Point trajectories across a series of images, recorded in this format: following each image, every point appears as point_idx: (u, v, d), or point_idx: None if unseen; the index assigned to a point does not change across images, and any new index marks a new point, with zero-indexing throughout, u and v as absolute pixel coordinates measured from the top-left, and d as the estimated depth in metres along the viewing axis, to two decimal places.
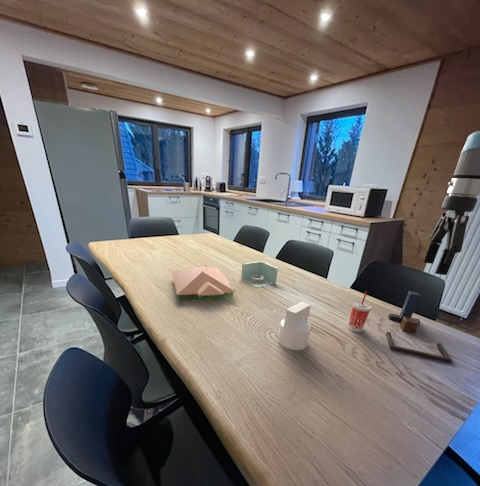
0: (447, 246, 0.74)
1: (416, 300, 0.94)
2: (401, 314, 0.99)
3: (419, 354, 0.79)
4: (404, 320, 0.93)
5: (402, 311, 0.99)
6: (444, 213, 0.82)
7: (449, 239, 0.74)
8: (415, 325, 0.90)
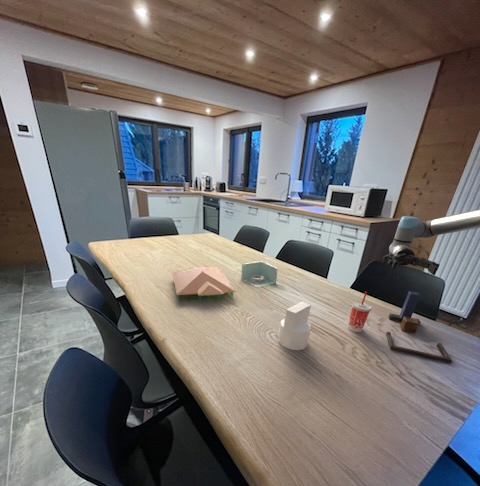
0: None
1: (416, 300, 0.94)
2: (401, 314, 0.99)
3: (419, 354, 0.79)
4: (404, 320, 0.93)
5: (402, 311, 0.99)
6: None
7: None
8: (415, 325, 0.90)
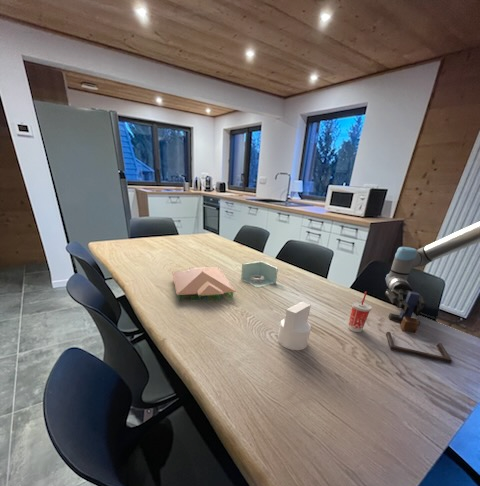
0: None
1: (416, 300, 0.94)
2: (401, 314, 0.99)
3: (419, 354, 0.79)
4: (404, 320, 0.93)
5: (402, 311, 0.99)
6: None
7: None
8: (415, 325, 0.90)
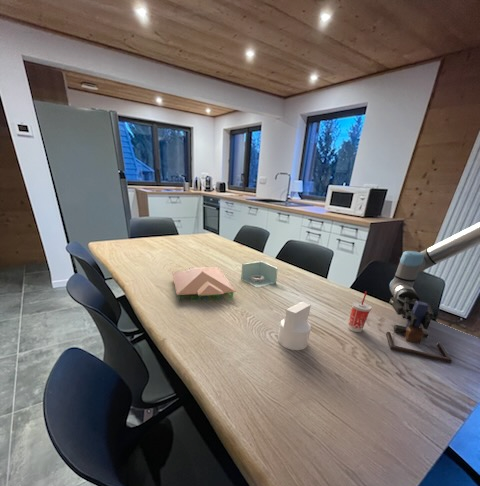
0: None
1: (424, 311, 0.85)
2: (407, 326, 0.90)
3: (419, 354, 0.79)
4: (408, 329, 0.87)
5: (408, 323, 0.89)
6: None
7: None
8: (420, 335, 0.84)
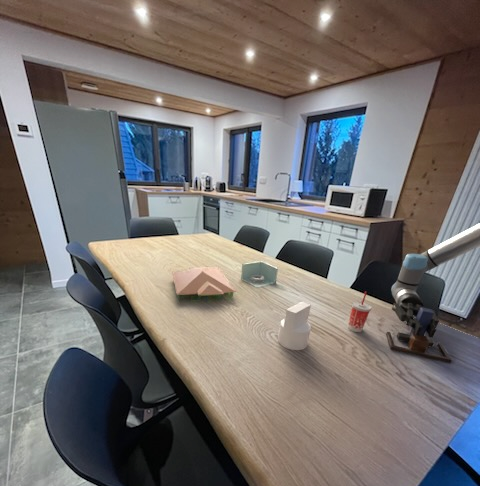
0: None
1: (429, 318, 0.80)
2: None
3: (419, 354, 0.79)
4: (412, 338, 0.82)
5: (412, 330, 0.85)
6: None
7: None
8: (425, 344, 0.80)
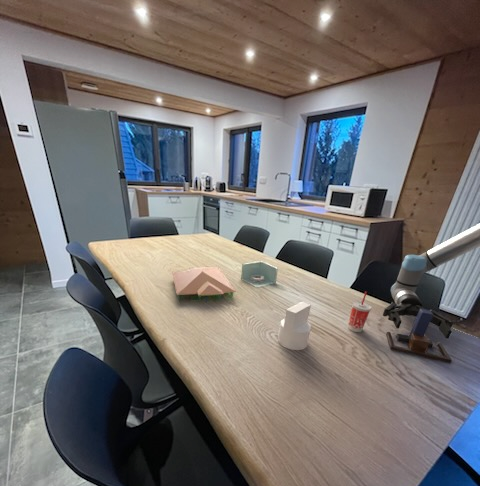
0: None
1: (429, 320, 0.80)
2: None
3: (419, 354, 0.79)
4: (412, 338, 0.82)
5: (412, 331, 0.85)
6: None
7: None
8: (425, 344, 0.80)
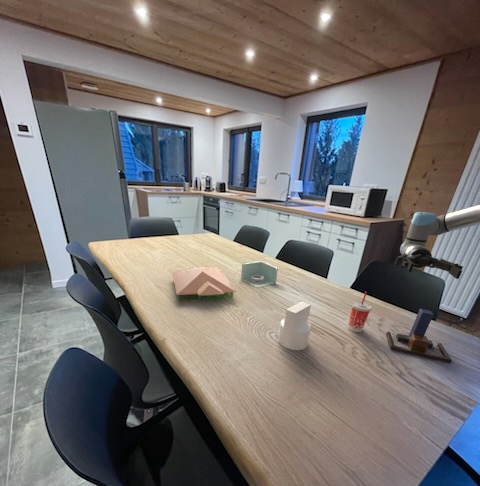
0: None
1: (429, 320, 0.80)
2: None
3: (419, 354, 0.79)
4: (412, 338, 0.82)
5: (412, 331, 0.85)
6: None
7: None
8: (425, 344, 0.80)
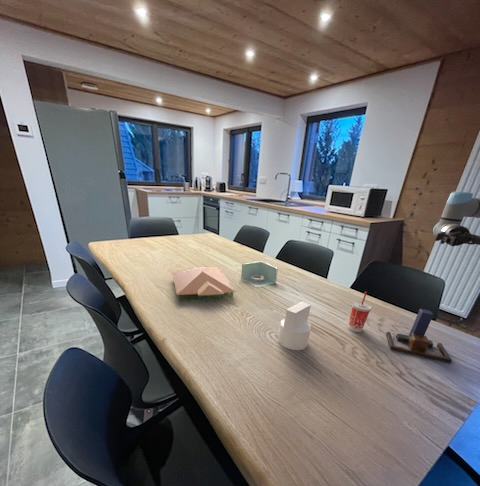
0: (443, 241, 0.97)
1: (429, 320, 0.80)
2: None
3: (419, 354, 0.79)
4: (412, 338, 0.82)
5: (412, 331, 0.85)
6: None
7: None
8: (425, 344, 0.80)
